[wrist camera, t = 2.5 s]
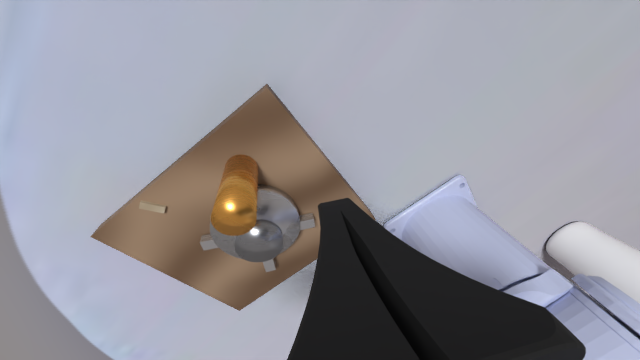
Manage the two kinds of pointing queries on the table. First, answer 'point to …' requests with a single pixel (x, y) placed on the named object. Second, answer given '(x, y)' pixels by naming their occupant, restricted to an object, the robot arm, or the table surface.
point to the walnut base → (200, 194)
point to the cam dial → (252, 216)
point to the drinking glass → (597, 256)
